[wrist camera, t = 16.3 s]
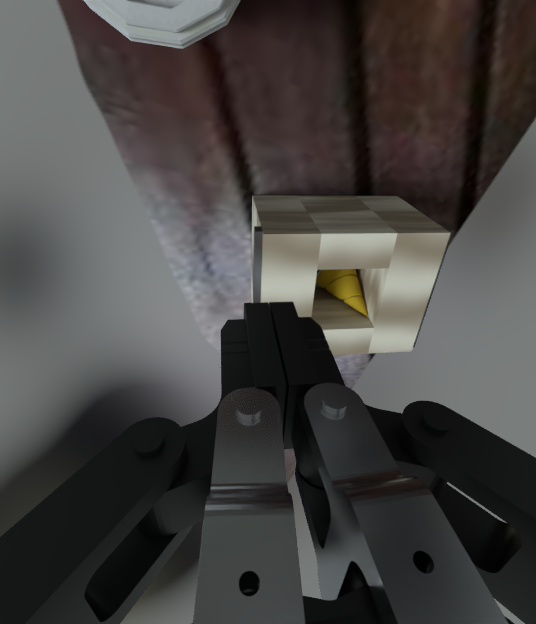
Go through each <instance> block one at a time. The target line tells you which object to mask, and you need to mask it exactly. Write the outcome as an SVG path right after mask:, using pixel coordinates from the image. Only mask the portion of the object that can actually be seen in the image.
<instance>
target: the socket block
mask: <svg viewBox="0 0 536 624" xmlns="http://www.w3.org/2000/svg"><path fill="white" fill-rule="evenodd" d="M452 233H453V229H451V228H450V227H448V226H447V225H439V224H437V223H436V222H434V221H433V220H431V219H430V218H429V217H427V216H426V215H424V214H423V213H421V212H420V211H418V210H417V209H415V208H414V207H412V206H411V205H410V204H408V203H407V202H405V201H404V200H402V199H401V198H399V197H398V196H283V195H252V266H251V303H262V302H268V304H269V302H291V301H293V303H294V305H295V308H296V311H297V314H298V317H311V318H312V319H313V320H314V321H316V322H317V323H318V324H319V325H320V326H321V328H322V330H323V332H324V335H325V337H326V340H327V342H328V345H329V347H330V350H331V352H332V355H345V354H365V353H384V352H385V353H386V352H406V351H412V348H413V347H414V346H415V344H416V341H417V338H418V335H419V332H420V329H421V326H422V323H423V320H424V317H425V314H426V311H427V308H428V305H429V302H430V299H431V296H432V293H433V290H434V287H435V284H436V281H437V278H438V275H439V272H440V269H441V266H442V263H443V260H444V257H445V254H446V251H447V248H448V245H449V242H450V239H451V236H452ZM332 269H355V270H356V274H357V277H358V281H359V285H360V288H361V292H362V296H363V299H364V303H365V307H366V310H367V314H368V316H367V317H366V316H365V315H363V314H362V313H361V312H359V311H357V310H356V309H354V308H353V307H351V306H350V305H348V304H347V303H345V302H344V300H340V299H339V298H337V297H336V296H334V295H333V294H331V293H330V292H328V291H327V290H326V289H324V288H318V287H315V283H316V275H317V270H332Z"/></svg>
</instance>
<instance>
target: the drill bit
mask: <svg viewBox="0 0 536 624" xmlns="http://www.w3.org/2000/svg"><path fill="white" fill-rule="evenodd" d="M315 287H318V288H324V289H326V290H327V291H328V292H330V293H331V294H333V295H334V296H336V297H337V298H339V299H340V300H344V302H345V303H347V304H348V305H350V306H351V307H353V308H354V309H356V310H357V311H359V312H361V313H362V314H363V315H365V316H366V317H367V316H368V314H367V310H366V307H365V303H364V299H363V296H362V292H361V288H360V285H359V281H358V277H357V274H356V270H355V269H332V270H317V275H316V283H315Z"/></svg>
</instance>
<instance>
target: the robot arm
mask: <svg viewBox="0 0 536 624" xmlns="http://www.w3.org/2000/svg"><path fill="white" fill-rule="evenodd" d="M221 384H222V395H221V399H220V402H219V404H218V406H217V407H216V409H215V410H214V411H213V412H212V413H211V414H209V415H208V416H207V417H205V418H203V419H201V420H199V421H197V422H194V423H191V424H188V425H185V426H183V427H180V426H179V425H178V424H177V423H176V422H174V421H172V420H170V419H166V418H160V417H156V418H155V417H154V418H148V419H144V420H141V421H139V422H136V423H135V424H133V425H131V426H130V427H128V428H127V429H126V430H125V431H123V432H122V433H121V434H120V435H119V436H118V437H116V438H115V439H114V440H113V441H112V442H111V443H109V444H108V445H107V446H106V447H105V448H104V449H102V450H101V451H100V452H99V453H98V454H97V455H95V456H94V457H93V458H92V459H91V460H90V461H88V462H87V463H86V464H85V465H84V466H83V467H81V468H80V469H79V470H78V471H77V472H76V473H74V474H73V475H72V476H71V477H70V478H69V479H67V480H66V481H65V482H64V483H63V484H62V485H60V486H59V487H58V488H57V489H56V490H55V491H53V492H52V493H51V494H50V495H49V496H48V497H46V498H45V499H44V500H43V501H42V502H41V503H40V504H38V505H37V506H36V507H35V508H34V509H33V510H31V511H30V512H29V513H28V514H27V515H25V516H24V517H23V518H22V519H21V520H20V521H18V522H17V523H16V524H15V525H14V526H13V527H11V528H10V529H9V530H8V531H7V532H6V533H4V534H3V535H2V536H1V537H0V624H120V623H121V622H122V620H123V619H124V618H125V616H126V615H127V614H128V612H129V611H130V610H131V608H132V607H133V606H134V605H135V603H136V602H137V601H138V599H139V597H140V596H141V595H142V594H143V593H144V591H145V590H146V589H147V587H148V586H149V585H150V583H151V582H152V581H153V579H154V578H155V577H156V575H157V574H158V572H159V571H160V570H161V569H162V567H163V566H164V565H165V563H166V562H167V561H168V559H169V558H170V557H171V555H172V554H173V553H174V552H175V550H176V549H177V548H178V546H179V545H180V544H181V542H182V541H183V540H184V538H185V537H186V536H187V534H188V533H189V531H190V530H191V528H192V526H193V525H194V524H196V523H198V522H200V521H202V520H204V522H203V531H202V541H201V550H200V560H199V570H198V580H197V589H196V599H195V609H194V618H193V623H192V624H514V623H513V622H511V621H510V620H509V619H507V618H506V617H505V616H504V615H503V614H502V612H501V610H500V608H499V607H498V605H497V603H496V602H495V600H494V598H495V599H496V600H497V601H498V602H500V603H501V604H502V605H503V606H504V607H506V608H507V609H508V610H509V611H510V612H512V613H513V614H514V615H515V616H517V617H518V618H519V619H520V620H521V621H523V622H524V623H525V624H536V458H535V457H533V456H531V455H530V454H528V453H526V452H525V451H523V450H521V449H519V448H517V447H516V446H514V445H512V444H510V443H509V442H507V441H505V440H503V439H502V438H500V437H498V436H497V435H494V434H493V433H491V432H490V431H488V430H486V429H484V428H482V427H481V426H479V425H477V424H476V423H474V422H472V421H470V420H469V419H467V418H465V417H463V416H462V415H460V414H458V413H456V412H454V411H453V410H451V409H449V408H447V407H445V406H443V405H441V404H438V403H435V402H431V401H416V402H413V403H410V404H409V405H408V406H406V408H405V409H404V411H403V414H401V413H396V412H391V411H386V410H381V409H377V408H373V407H370V406H367V405H365V404H364V403H363V401H362V399H361V398H360V397H359V395H358V394H356V393H355V392H354V391H353V390H351V389H350V388H348V387H346V386H345V384H344V381H343V379H342V377H341V374H340V372H339V369H338V367H337V364H336V362H335V359H334V357H333V355H332V352H331V350H330V347H329V345H328V342H327V340H326V337H325V335H324V332H323V330H322V328H321V326H320V325H319V324H318V323H317V322H316V321H314V320H313V319H312V318H311V317H298V314H297V311H296V308H295V305H294V303H293V301H291V302H269V304H268V302H262V303H244V319H239V320H227V322H226V323H225V325H224V326H223V328H222V329H221ZM292 448H294V453H295V458H296V465H295V479H296V483H297V486H298V490H299V494H300V498H301V501H302V505H303V508H304V512H305V516H306V520H307V523H308V526H309V530H310V534H311V538H312V542H313V545H314V549H315V553H316V558H317V565H318V578H319V585H320V592H321V597H322V599H317V598H312V597H307V596H302V587H301V577H300V567H299V557H298V547H297V537H296V528H295V517H294V508H293V501H292V496H291V494H290V493H289V492H288V487H287V477H286V466H285V455H284V449H292ZM447 482H449V483H450V484H452V485H453V486H455V487H456V488H458V489H459V490H461V491H462V492H463V493H465V494H466V495H468V496H469V497H471V498H472V499H474V500H475V501H477V502H478V503H479V504H481V505H482V506H484V507H485V508H487V509H488V510H489V511H491V512H492V513H494V514H495V515H497V516H498V517H500V518H501V519H503V520H504V521H505V522H507V523H505V522H502V521H500V520H498V519H497V518H495V517H494V516H492V515H491V514H489V513H488V512H486V511H485V510H483V509H482V508H481V507H479V506H478V505H476V504H475V503H473V502H472V501H471V500H469V499H468V498H466V497H465V496H463V495H462V494H461V493H459V492H458V491H456V490H455V489H453V488H452V487H451V486H449V485H448V484H447Z"/></svg>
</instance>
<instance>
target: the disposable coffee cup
mask: <svg viewBox="0 0 536 624" xmlns="http://www.w3.org/2000/svg"><path fill="white" fill-rule="evenodd" d="M84 1H85V2H86V4H87V5H88V6H89V7H90V8H91V9H92V10H93V11H94V12H96V13H97V14H98V15H99V16H101V17H102V18H103V19H104V20H106V21H107V22H108V23H109V24H111V25H112V26H113V27H114V28H116V29H117V30H118V31H120V32H121V33H122V34H123V35H125V36H126V37H127V38H128V39H130V40H131V41H136V42H143V43H149V44H156V45H162V46H169V47H175V48H182V49H183V48H185V47H187V46H189V45H191V44H192V43H194V42H196V41H198V40H200V39H202V38H203V37H205V36H207V35H209V34H211V33H213V32H215V31H216V30H218V29H220V28H222V27H224V26H226V25H227V24H228V22H229V21H230V19H231V17H232V15H233V13H234V11H235V10H236V8H237V6H238V4H239V2H240V0H84Z"/></svg>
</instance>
